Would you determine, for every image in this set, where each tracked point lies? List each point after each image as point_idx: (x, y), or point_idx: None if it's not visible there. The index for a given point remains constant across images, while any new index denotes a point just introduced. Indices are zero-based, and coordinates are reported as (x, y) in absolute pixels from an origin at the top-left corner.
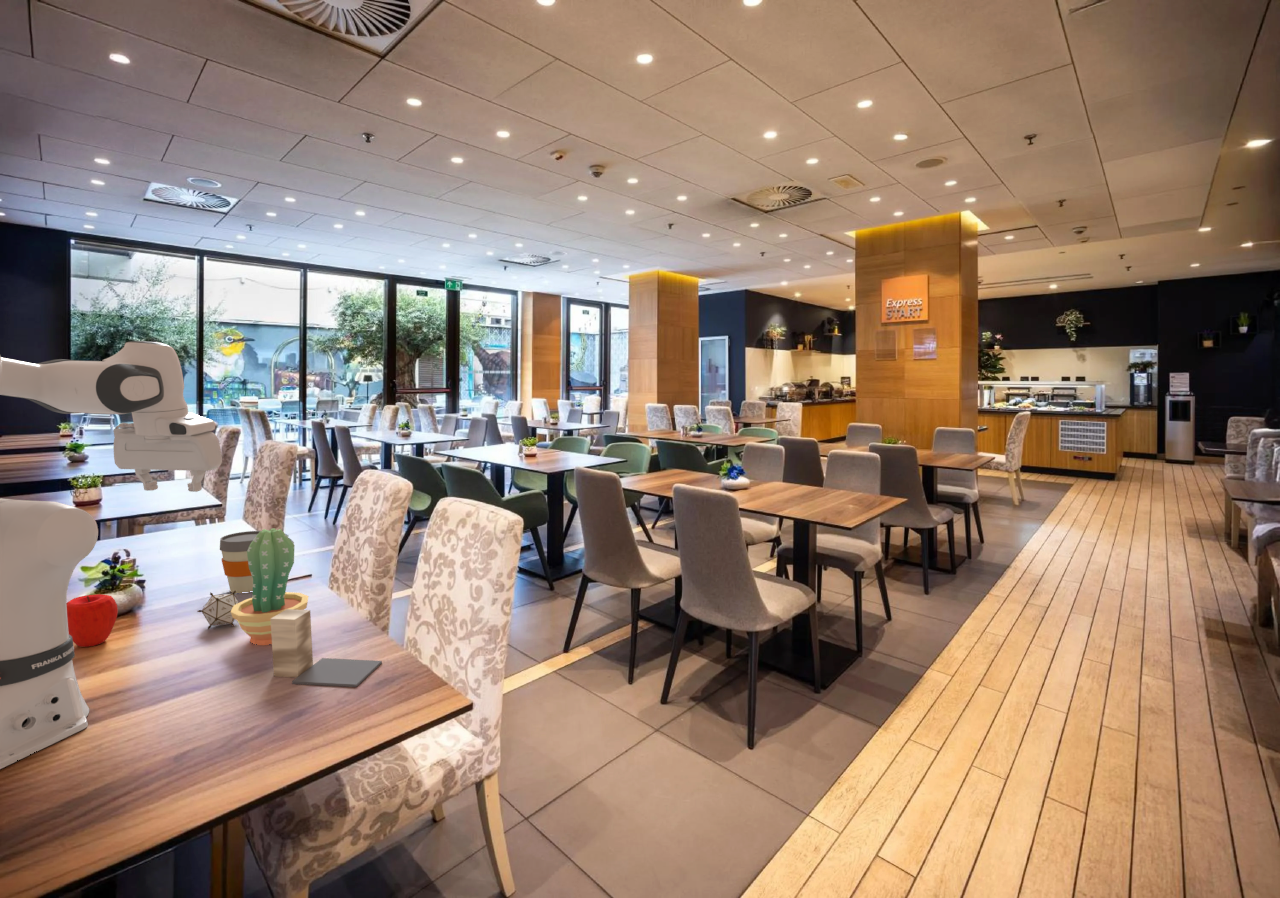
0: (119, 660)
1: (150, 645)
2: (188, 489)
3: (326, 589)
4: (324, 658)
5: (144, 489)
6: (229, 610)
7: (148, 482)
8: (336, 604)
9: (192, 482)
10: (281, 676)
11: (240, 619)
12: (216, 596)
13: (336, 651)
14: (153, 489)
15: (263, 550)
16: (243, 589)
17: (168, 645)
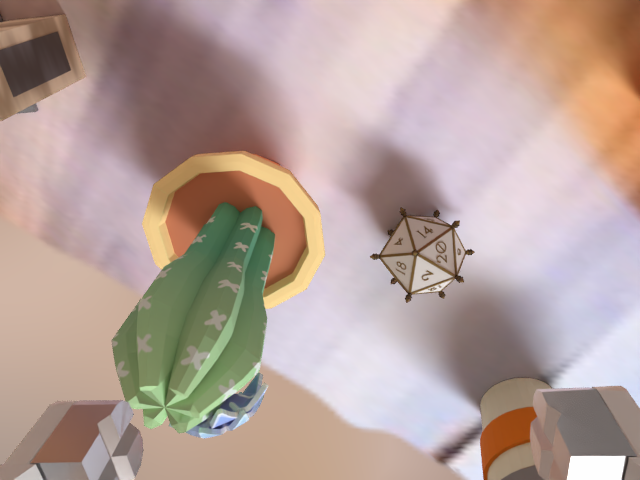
0: (520, 14)
1: (509, 107)
2: (113, 410)
3: (340, 413)
4: (28, 110)
5: (622, 389)
6: (388, 244)
7: (594, 462)
8: None
9: (5, 474)
10: (46, 16)
11: (241, 151)
12: (438, 272)
13: (51, 155)
14: (534, 409)
15: (145, 311)
16: (510, 386)
17: (462, 116)
